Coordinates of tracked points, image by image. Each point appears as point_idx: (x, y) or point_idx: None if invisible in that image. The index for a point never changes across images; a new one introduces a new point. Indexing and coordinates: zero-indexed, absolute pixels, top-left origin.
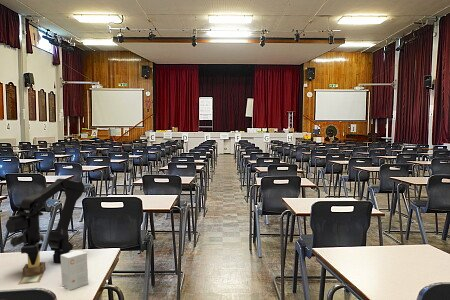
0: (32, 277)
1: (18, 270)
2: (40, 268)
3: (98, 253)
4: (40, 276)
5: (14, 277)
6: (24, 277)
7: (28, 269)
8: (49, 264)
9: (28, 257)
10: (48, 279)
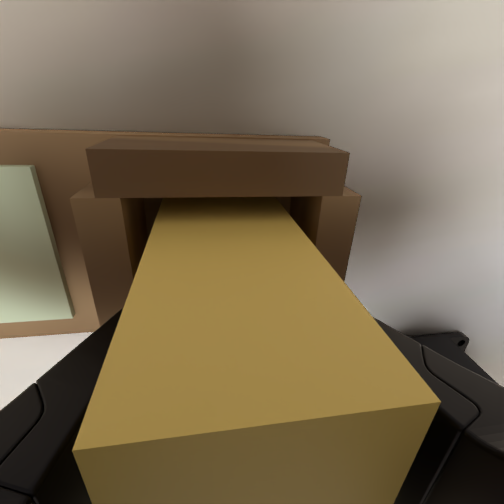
0: (17, 264)
1: (439, 21)
2: None
3: None
4: (71, 320)
5: (188, 6)
6: (24, 174)
7: (81, 239)
8: (434, 298)
9: (119, 347)
10: (55, 363)
